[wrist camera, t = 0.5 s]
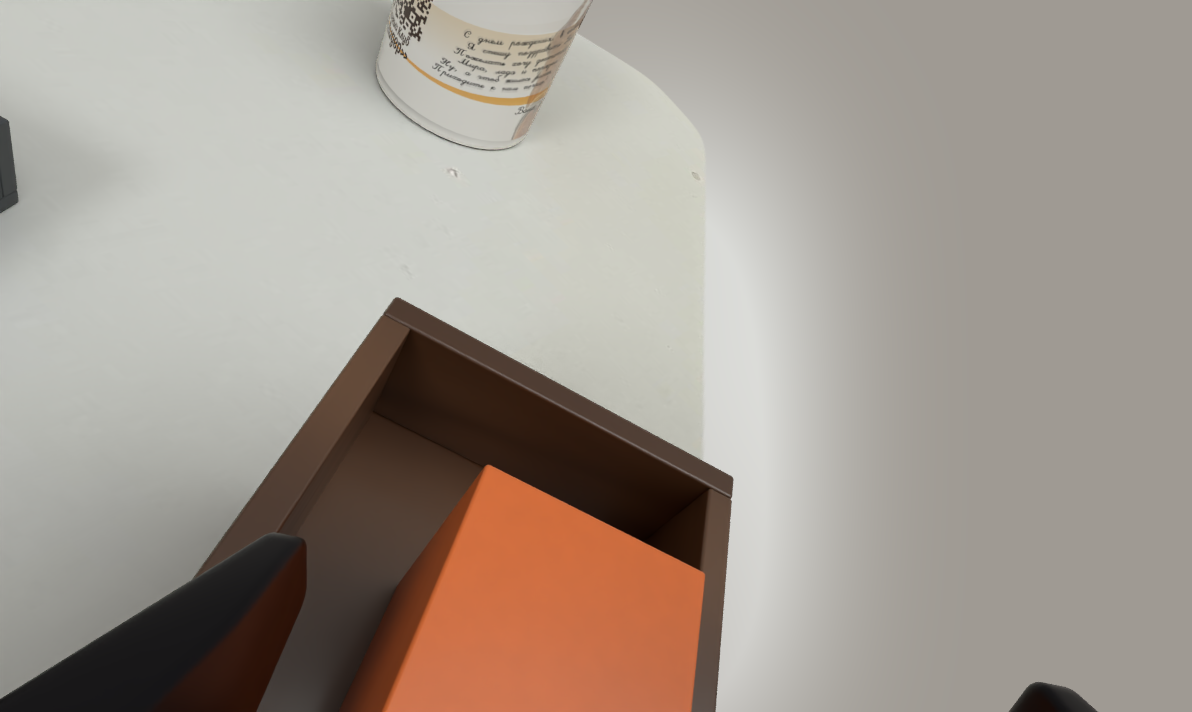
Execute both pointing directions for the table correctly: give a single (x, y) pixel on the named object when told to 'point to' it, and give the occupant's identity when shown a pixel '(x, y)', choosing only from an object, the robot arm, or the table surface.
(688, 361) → the table surface
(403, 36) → the mug
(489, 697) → the block
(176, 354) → the table surface
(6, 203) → the tub
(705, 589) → the box
